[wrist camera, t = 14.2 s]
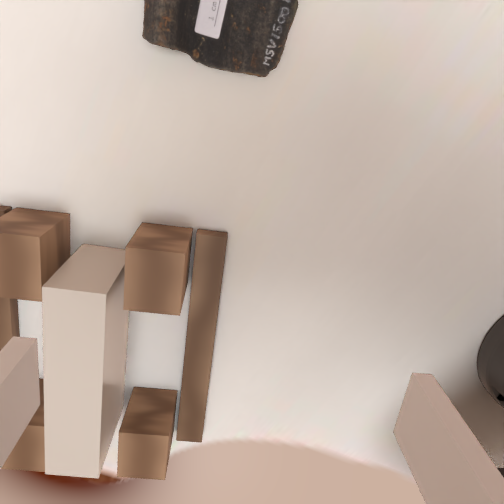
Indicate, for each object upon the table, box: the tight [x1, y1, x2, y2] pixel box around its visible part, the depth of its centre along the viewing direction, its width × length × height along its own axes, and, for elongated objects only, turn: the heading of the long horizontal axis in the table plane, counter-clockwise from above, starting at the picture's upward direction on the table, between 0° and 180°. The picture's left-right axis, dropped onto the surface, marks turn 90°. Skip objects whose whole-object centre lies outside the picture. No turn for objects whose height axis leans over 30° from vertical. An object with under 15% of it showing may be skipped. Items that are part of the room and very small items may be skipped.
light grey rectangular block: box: [42, 244, 129, 478], centre depth 42 cm, size 5×20×10 cm, turn 171°
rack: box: [0, 206, 227, 480], centre depth 43 cm, size 24×26×7 cm
